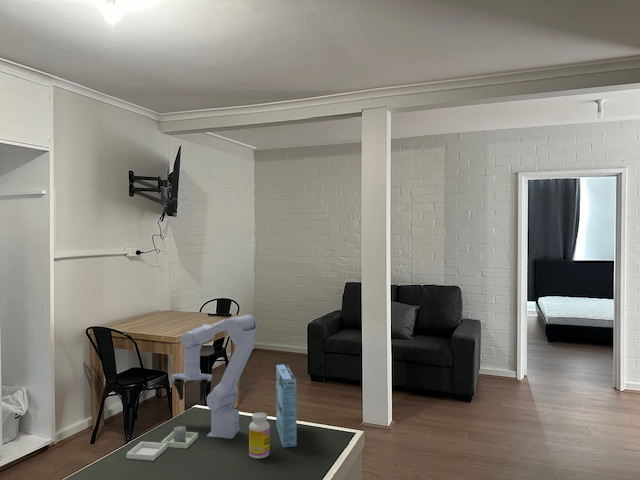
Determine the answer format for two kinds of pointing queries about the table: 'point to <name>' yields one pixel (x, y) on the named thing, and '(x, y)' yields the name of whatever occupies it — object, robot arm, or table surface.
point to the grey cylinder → (180, 434)
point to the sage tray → (189, 440)
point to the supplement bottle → (259, 436)
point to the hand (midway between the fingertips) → (191, 399)
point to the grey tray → (146, 451)
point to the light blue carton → (286, 405)
